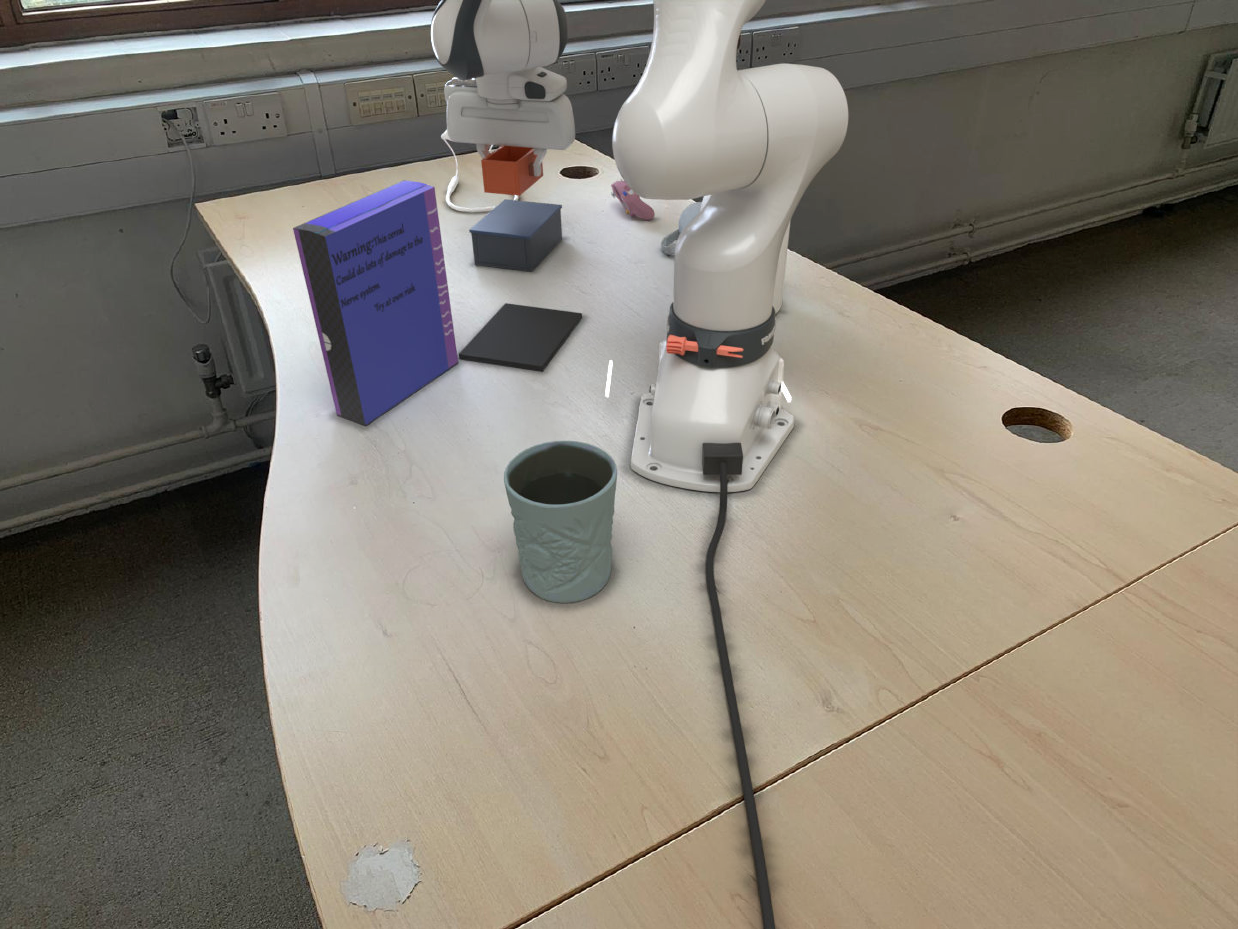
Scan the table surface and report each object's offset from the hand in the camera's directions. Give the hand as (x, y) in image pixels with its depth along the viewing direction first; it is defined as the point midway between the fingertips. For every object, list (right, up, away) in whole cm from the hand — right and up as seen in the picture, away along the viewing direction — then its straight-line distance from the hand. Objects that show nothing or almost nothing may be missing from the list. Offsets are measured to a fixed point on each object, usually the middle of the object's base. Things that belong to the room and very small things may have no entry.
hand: (513, 173), depth 142 cm
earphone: (-10, +6, +31) cm, 33 cm away
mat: (+3, -28, -17) cm, 33 cm away
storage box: (0, -10, +8) cm, 13 cm away
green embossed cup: (+12, -56, -55) cm, 80 cm away
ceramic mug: (+29, -11, +7) cm, 32 cm away
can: (+34, -23, -9) cm, 42 cm away
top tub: (0, -1, +1) cm, 2 cm away
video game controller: (+19, 0, +22) cm, 29 cm away
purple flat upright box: (-11, -36, -27) cm, 47 cm away
